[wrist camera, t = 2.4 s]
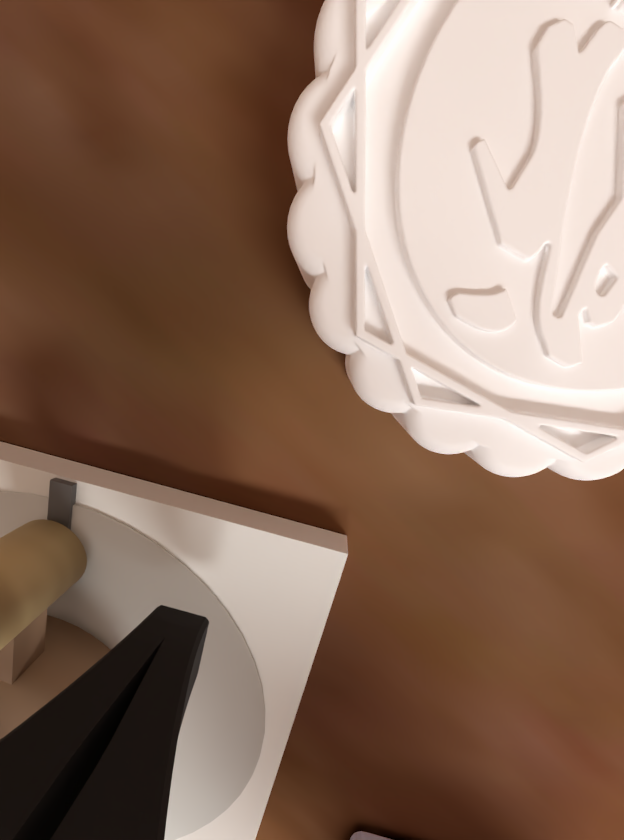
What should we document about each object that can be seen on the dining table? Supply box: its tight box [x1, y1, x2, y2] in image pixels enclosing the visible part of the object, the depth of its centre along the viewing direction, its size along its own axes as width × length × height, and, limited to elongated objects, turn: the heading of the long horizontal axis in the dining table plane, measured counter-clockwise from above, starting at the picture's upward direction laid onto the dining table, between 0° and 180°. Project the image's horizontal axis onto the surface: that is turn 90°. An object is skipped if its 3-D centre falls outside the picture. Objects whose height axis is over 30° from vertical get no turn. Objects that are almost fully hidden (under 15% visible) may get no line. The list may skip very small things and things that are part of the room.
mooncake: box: [287, 0, 624, 480], centre depth 7 cm, size 12×12×4 cm
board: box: [0, 441, 348, 840], centre depth 12 cm, size 18×18×1 cm
